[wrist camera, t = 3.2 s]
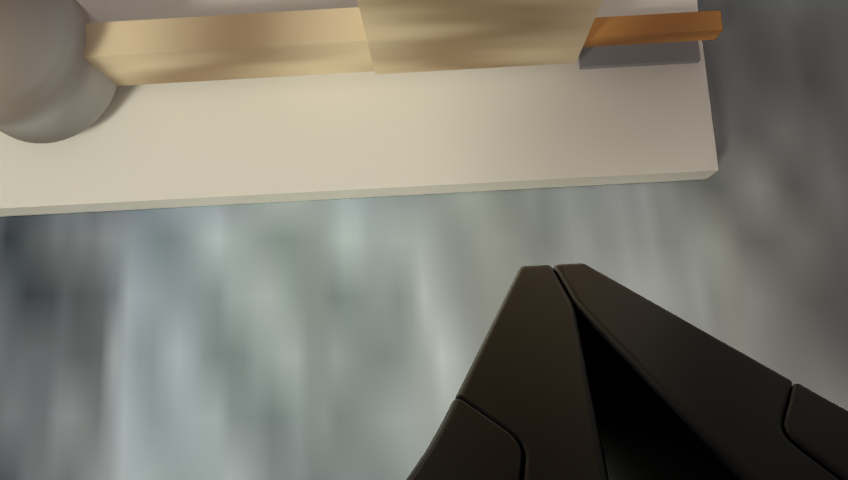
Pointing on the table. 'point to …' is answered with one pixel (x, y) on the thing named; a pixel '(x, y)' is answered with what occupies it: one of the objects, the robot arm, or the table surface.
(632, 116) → the dial board
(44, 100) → the lever
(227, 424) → the table surface
